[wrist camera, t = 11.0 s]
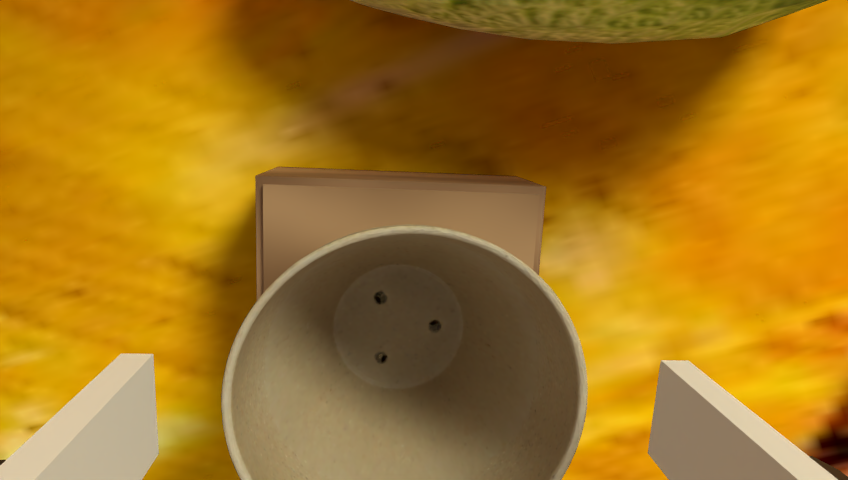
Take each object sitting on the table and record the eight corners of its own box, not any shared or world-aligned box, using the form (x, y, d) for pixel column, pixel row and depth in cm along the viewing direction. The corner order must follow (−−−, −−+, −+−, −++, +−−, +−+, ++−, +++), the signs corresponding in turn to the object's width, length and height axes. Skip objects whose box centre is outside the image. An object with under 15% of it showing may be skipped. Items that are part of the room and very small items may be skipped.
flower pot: (542, 407, 24) (612, 523, 17) (304, 462, 23) (274, 605, 16) (500, 169, 22) (559, 190, 15) (239, 226, 21) (172, 274, 14)
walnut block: (278, 166, 26) (254, 176, 21) (515, 176, 27) (547, 187, 22) (278, 392, 28) (257, 450, 23) (499, 393, 29) (525, 449, 24)
